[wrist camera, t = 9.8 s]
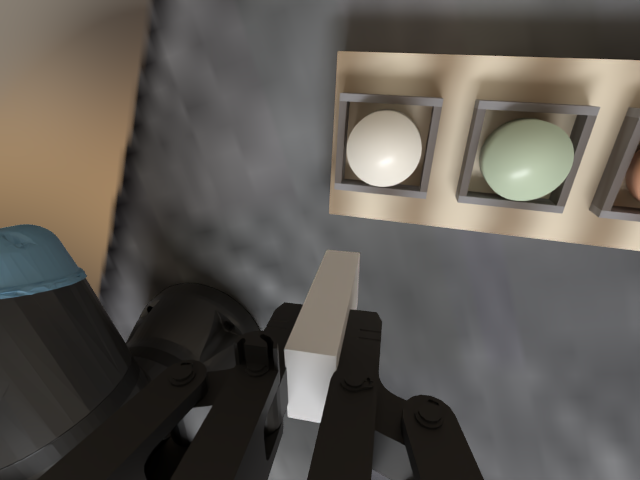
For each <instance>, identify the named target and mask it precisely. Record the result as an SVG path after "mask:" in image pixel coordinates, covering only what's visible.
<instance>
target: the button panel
mask: <svg viewBox="0 0 640 480" xmlns="http://www.w3.org/2000/svg"><path fill="white" fill-rule="evenodd" d="M383 109H392V110H397V111H400V112H402V113H404V114H405V115H407V116H408V117H409V118H411V119H412V121H413V122H414V123H415V125H416V126H417V128H418V130H419V133H420V138H421V145H422V151H421V157H420V160H419V163H418V165H417V167H416V169H415V170H414V172H413V173H412V174H411V175H410V176H409V177H408V178H407V179H405V180H404V181H402V182H400V183H398V184H396V185H393V186H387V187H378V186H373V185H370V184H368V183H366V182H364V181H362V180H361V179H360V178H359V177H358V176H357V175H356V174H355V173H354V172H353V170H352V169H351V167H350V165H349V162H348V158H347V142H348V139H349V136H350V134H351V132H352V130H353V129H354V127H355V126H356V125H357V124H358V123H359V122H360V121H361V120H362V119H363V118H364V117H366V116H367V115H369V114H370V113H372V112H375V111H378V110H383ZM518 118H536V119H539V120H543V121H546V122H549V123H552V124H554V125H557V126H558V127H560V128H561V129H562V130H564V131H565V132H566V133H567V135H568V136H569V138H570V139H571V141H572V144H573V148H574V160H573V164H572V167H571V170H570V172H569V174H568V175H567V177H566V178H565V180H564V181H563V182H562V183H561V184H560V185H559V186H558V187H557V188H556V189H555V190H553V191H552V192H550V193H548V194H547V195H545V196H542V197H540V198H537V199H533V200H528V201H515V200H510V199H507V198H504V197H502V196H500V195H499V194H497V193H496V192H495V191H494V190H493V189H492V188H491V187H490V186H489V184H488V183H487V181H486V180H485V179H484V177H483V176H482V173H481V171H480V167H479V156H480V151H481V148H482V146H483V144H484V142H485V140H486V139H487V138H488V136H489V135H490V134H491V133H492V132H493V131H494V130H495V129H497V128H498V127H499V126H501V125H502V124H504V123H506V122H508V121H511V120H514V119H518ZM639 149H640V60H614V59H581V58H548V57H515V56H482V55H448V54H415V53H382V52H349V51H338V54H337V72H336V91H335V110H334V128H333V147H332V166H331V184H330V203H329V214H337V215H345V216H354V217H362V218H370V219H378V220H387V221H395V222H403V223H412V224H420V225H428V226H437V227H445V228H453V229H462V230H470V231H478V232H487V233H495V234H503V235H512V236H520V237H528V238H537V239H545V240H553V241H561V242H570V243H578V244H586V245H595V246H603V247H611V248H620V249H628V250H636V251H640V202H639V201H638V200H636V199H635V198H634V197H633V196H632V195H631V194H630V192H629V190H628V188H627V185H626V172H627V170H628V168H629V165H630V163H631V160H632V158H633V156H634V155H635V154H636V152H637V151H638V150H639Z"/></svg>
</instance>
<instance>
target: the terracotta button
mask: <svg viewBox="0 0 640 480" xmlns="http://www.w3.org/2000/svg"><path fill="white" fill-rule="evenodd" d="M626 185H627V188H628V190H629V192H630V194H631V195H632V196H633V197H634V198H635V199H636V200H638V201H639V202H640V149H639V150H638V151H637V152H636V154H635V155H634V156H633V158H632V160H631V163H630V165H629V168H628V170H627V172H626Z"/></svg>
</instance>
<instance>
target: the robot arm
mask: <svg viewBox="0 0 640 480" xmlns="http://www.w3.org/2000/svg"><path fill="white" fill-rule="evenodd" d="M359 262H360V253H357V252H346V251H334V250H326V253H325V255H324V257H323V260H322V262H321V264H320V267H319V269H318V271H317V274H316V276H315V278H314V281H313V283H312V285H311V288H310V290H309V292H308V295H307V297H306V299H305V302H304V304H303V305H302V304H293V303H283V304H282V305H281V306H279V307H278V308H277V309H276V310H275V311H274V313H273V315H272V317H271V319H270V320H269V322H268V324H267V327H266V328H265V330H264V331H259V328H258V326H257V325H256V323H255V321H254V320H253V318H252V317H251V316H250V314H249V313H248V312H247V311H246V310H245V309H244V308H243V307H242V306H241V305H240V304H239V303H237V302H236V301H235V300H234V299H232V298H231V297H229V296H228V295H226V294H224V293H222V292H220V291H218V290H216V289H214V288H211V287H208V286H204V285H199V284H178V285H174V286H171V287H169V288H167V289H165V290H164V291H162V292H161V293H160V294H159V295H157V296H156V297H155V298H154V299H153V300H152V301H151V302H150V303H149V304H148V305H147V306H146V307H145V308H144V310H143V312H142V314H141V315H140V318H139V320H138V321H137V323H136V325H135V327H134V328H133V330H132V332H131V334H130V336H129V338H128V340H127V342H126V343H125V342H124V340H123V338H122V337H121V335H120V333H119V332H118V330H117V329H116V327H115V325H114V324H113V322H112V320H111V319H110V317H109V315H108V314H107V312H106V311H105V309H104V307H103V306H102V304H101V302H100V301H99V299H98V297H97V296H96V294H95V293H94V291H93V289H92V288H91V286H90V284H89V283H88V281H87V280H86V277H87V275H86V274H85V272H84V271H83V269H81V268H79V267H78V266H77V265H76V263H75V262H74V260H73V259H72V257H71V256H70V255H69V253H68V252H67V250H66V249H65V247H64V246H63V244H62V243H61V242H60V240H59V239H58V238H57V236H56V235H55V234H53V233H52V232H51V231H49V230H48V229H45V228H43V227H40V226H36V225H29V224H26V225H25V224H24V225H16V226H11V227H5V228H0V480H268V476H269V473H270V470H271V467H272V464H273V461H274V458H275V455H276V452H277V449H278V446H279V443H280V440H281V437H282V434H283V417H284V414H285V411H286V408H287V411H288V417H290V418H296V419H301V420H307V421H313V422H318V423H320V427H319V431H318V435H317V439H316V444H315V448H314V452H313V457H312V461H311V465H310V470H309V474H308V478H307V480H371V474H372V469H373V470H374V471H376V472H378V473H380V474H381V475H383V476H385V477H387V478H389V479H390V480H484V479H483V476H482V474H481V472H480V470H479V468H478V465H477V463H476V461H475V459H474V456H473V454H472V452H471V450H470V447H469V445H468V443H467V441H466V438H465V436H464V434H463V432H462V430H461V427H460V425H459V423H458V421H457V418H456V416H455V414H454V413H453V411H452V410H451V409H450V407H449V406H448V405H446V404H445V403H444V402H443V401H441V400H439V399H437V398H435V397H432V396H427V395H418V396H413V397H411V398H410V399H408V400H407V401H406V400H404V399H402V398H400V397H397V396H396V395H394V394H392V393H390V392H389V391H388V390H387V389H386V388H385V387H384V386H383V384H382V383H381V381H380V379H379V358H380V343H381V329H382V321H381V319H380V317H379V315H378V314H377V312H369V311H360V310H356V309H357V302H358V282H359Z"/></svg>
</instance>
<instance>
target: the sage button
mask: <svg viewBox="0 0 640 480" xmlns="http://www.w3.org/2000/svg"><path fill="white" fill-rule="evenodd" d="M573 160H574V148H573V144H572V141H571V139H570V138H569V136H568V135H567V133H566V132H565V131H564V130H562V129H561V128H560V127H558V126H557V125H554V124H552V123H549V122H546V121H543V120H539V119H536V118H518V119H514V120H511V121H508V122H506V123H504V124H502V125H501V126H499V127H498V128H497V129H495V130H494V131H493V132H492V133H491V134H490V135H489V136H488V138H487V139H486V140H485V142H484V144H483V146H482V148H481V151H480V156H479V167H480V171H481V173H482V176H483V177H484V179H485V180H486V181H487V183H488V184H489V186H490V187H491V188H492V189H493V190H494V191H495V192H496V193H497V194H499V195H500V196H502V197H504V198H507V199H510V200H515V201H528V200H533V199H537V198H540V197H542V196H545V195H547V194H548V193H550V192H552V191H553V190H555V189H556V188H557V187H558V186H559V185H560V184H561V183H562V182H563V181H564V180H565V178H566V177H567V175H568V174H569V172H570V170H571V167H572V164H573Z"/></svg>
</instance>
